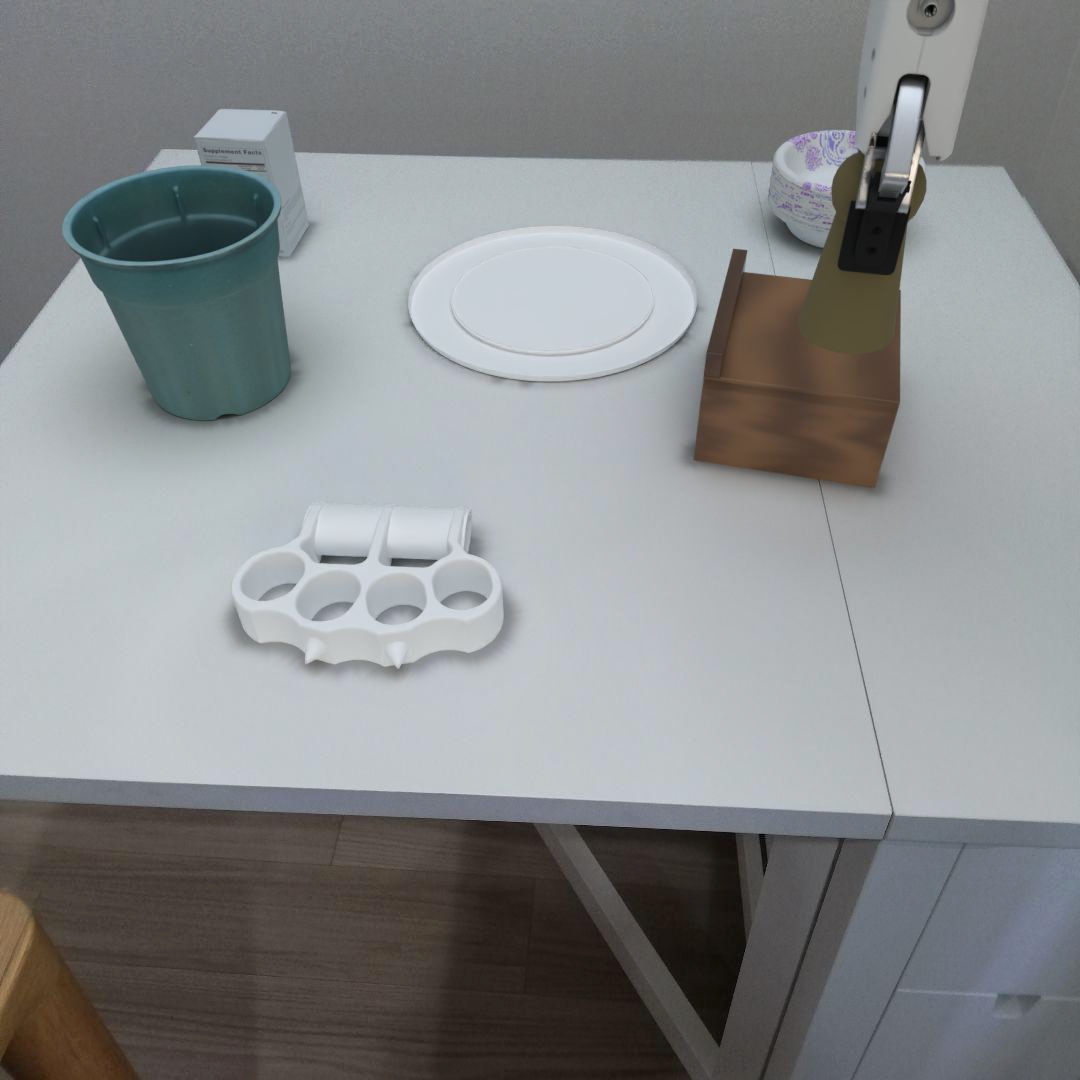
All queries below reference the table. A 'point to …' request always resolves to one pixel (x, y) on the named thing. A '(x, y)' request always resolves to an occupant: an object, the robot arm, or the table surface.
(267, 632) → the knuckle duster
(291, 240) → the white packaging box
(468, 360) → the plate
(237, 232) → the flower pot
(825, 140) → the paper bowls
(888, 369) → the brown wooden box
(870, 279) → the olive pawn figure
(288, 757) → the table surface
